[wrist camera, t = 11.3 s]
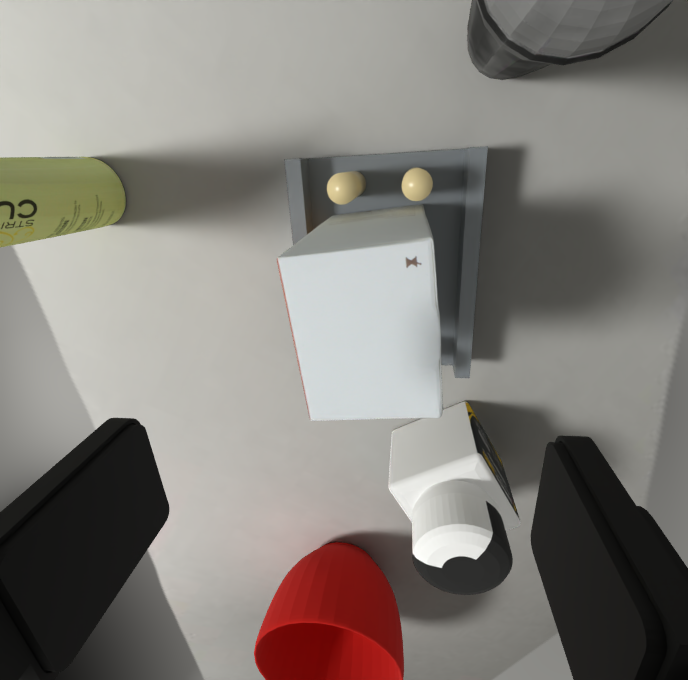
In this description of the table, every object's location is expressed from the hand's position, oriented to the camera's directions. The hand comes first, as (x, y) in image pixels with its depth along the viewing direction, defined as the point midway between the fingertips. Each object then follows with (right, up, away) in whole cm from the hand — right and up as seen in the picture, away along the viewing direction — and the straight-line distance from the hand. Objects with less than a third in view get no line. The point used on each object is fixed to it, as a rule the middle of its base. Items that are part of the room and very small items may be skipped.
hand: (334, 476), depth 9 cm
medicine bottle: (+9, -6, +26) cm, 28 cm away
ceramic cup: (-1, -22, +35) cm, 41 cm away
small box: (+3, +8, +19) cm, 21 cm away
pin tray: (+3, +9, +20) cm, 22 cm away
